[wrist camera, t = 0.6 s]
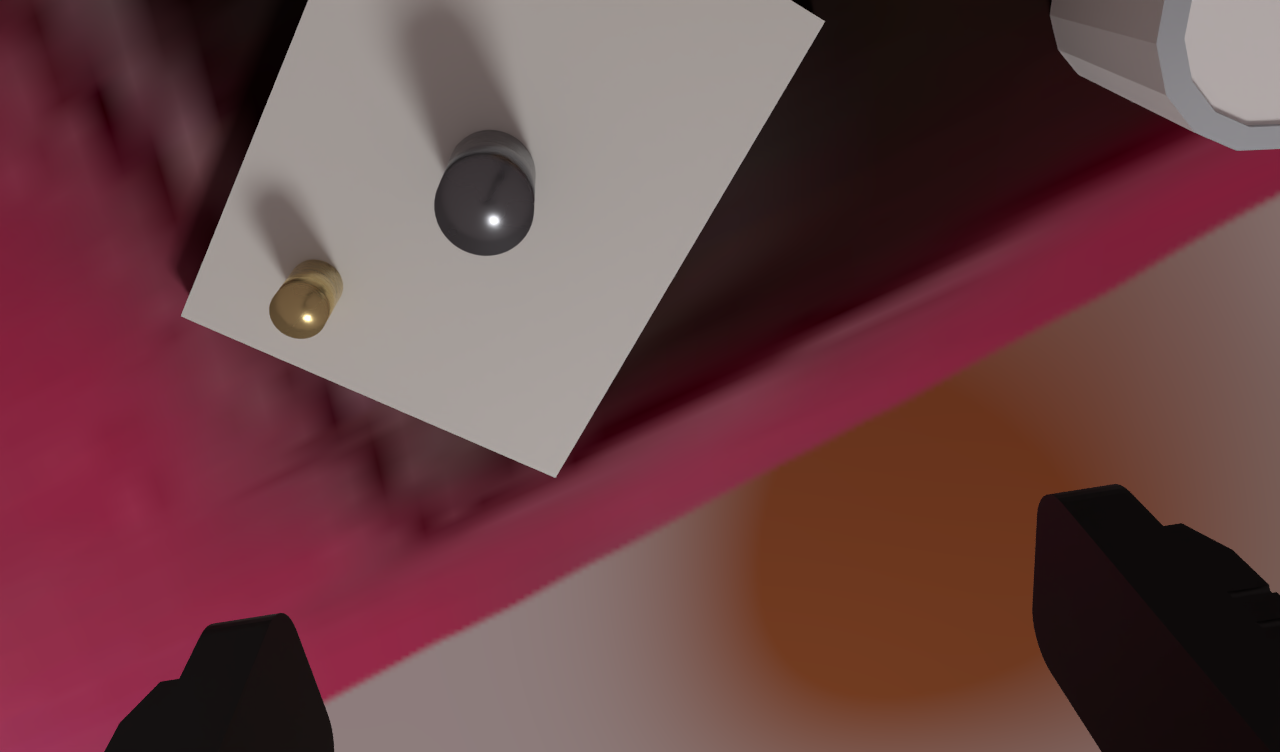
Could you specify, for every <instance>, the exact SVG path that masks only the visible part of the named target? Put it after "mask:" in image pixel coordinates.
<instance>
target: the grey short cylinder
mask: <svg viewBox="0 0 1280 752" xmlns="http://www.w3.org/2000/svg"><path fill="white" fill-rule="evenodd" d="M1050 18H1051V22H1052V27H1053V31H1054V35H1055V39H1056V43H1057V48H1058V50H1059V51H1060V53H1061V54H1062V55H1063V56H1064V58H1065V59H1066V60H1067V61H1068V63H1069V64H1070V65H1071V66H1072V68H1073V69H1074V70H1075V71H1076V73H1077V74H1078V75H1080V76H1082V77H1084V78H1086V79H1088V80H1090V81H1092V82H1094V83H1096V84H1098V85H1100V86H1102V87H1104V88H1106V89H1108V90H1110V91H1112V92H1114V93H1116V94H1118V95H1120V96H1122V97H1124V98H1126V99H1128V100H1130V101H1132V102H1134V103H1136V104H1138V105H1141V106H1143V107H1145V108H1147V109H1149V110H1151V111H1153V112H1155V113H1157V114H1159V115H1161V116H1163V117H1165V118H1167V119H1169V120H1171V121H1173V122H1175V123H1177V124H1179V125H1181V126H1183V127H1185V128H1187V129H1189V130H1191V131H1193V132H1195V133H1197V134H1199V135H1202V136H1204V137H1206V138H1209V139H1211V140H1213V141H1215V142H1218V143H1220V144H1222V145H1225V146H1227V147H1229V148H1232V149H1234V150H1236V151H1240V150H1262V149H1280V0H1052V3H1051V10H1050Z"/></svg>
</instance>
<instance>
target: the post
mask: <svg viewBox="0 0 1280 752" xmlns="http://www.w3.org/2000/svg"><path fill="white" fill-rule="evenodd" d="M535 179H536V172H535V165H534V161H533V159H532V156H531V154H530V153H529V151H528V150H527V148H526V147H525V146H524V145H523V144H522V143H521V142H520V141H519V140H518V139H517V138H515V137H513V136H512V135H510V134H508V133H505V132H502V131H497V130H482V131H478V132H475V133H472V134H470V135H469V136H467V137H465V138H464V139H463V140H462V141H461V142H460V143H459V144H458V145H457V146H456V147H455V149H454V151H453V152H452V155H451V157H450V159H449V162H448V164H447V166H446V169H445V171H444V174H443V176H442V178H441V181H440V183H439V186H438V188H437V191H436V194H435V200H434V211H435V217H436V220H437V223H438V225H439V227H440V229H441V231H442V232H443V234H444V235H445V237H446V238H447V239H448V240H449V241H450V242H451V243H452V244H454V245H455V246H456V247H458V248H459V249H461V250H463V251H465V252H468V253H471V254H474V255H480V256H493V255H498V254H502V253H504V252H507V251H509V250H511V249H513V248H514V247H515V246H517V245H518V244H519V243H520V242H521V241H522V240H523V239H524V238H525V236H526V235H527V233H528V232H529V230H530V227H531V225H532V221H533V217H534V202H535Z"/></svg>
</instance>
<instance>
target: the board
mask: <svg viewBox="0 0 1280 752" xmlns="http://www.w3.org/2000/svg"><path fill="white" fill-rule="evenodd" d="M824 22H825V21H823V20H822V19H820V18H819V17H817V16H815V15H814V14H812V13H811V12H809V11H807V10H806V9H804V8H803V7H801V6H799V5H798V4H796V3H795V2H793V1H791V0H308V2H307V5H306V7H305V9H304V12H303V14H302V17H301V19H300V22H299V24H298V27H297V29H296V32H295V34H294V37H293V39H292V42H291V44H290V47H289V49H288V52H287V54H286V57H285V59H284V62H283V64H282V67H281V69H280V71H279V74H278V76H277V79H276V81H275V84H274V86H273V89H272V91H271V94H270V96H269V99H268V101H267V104H266V106H265V109H264V111H263V114H262V116H261V119H260V121H259V124H258V126H257V128H256V131H255V133H254V136H253V138H252V141H251V143H250V146H249V148H248V151H247V153H246V156H245V158H244V161H243V163H242V166H241V168H240V171H239V173H238V176H237V178H236V181H235V183H234V186H233V188H232V190H231V193H230V195H229V198H228V200H227V203H226V205H225V208H224V210H223V213H222V215H221V218H220V220H219V223H218V225H217V228H216V230H215V233H214V235H213V238H212V240H211V243H210V245H209V247H208V250H207V252H206V255H205V257H204V260H203V262H202V265H201V267H200V270H199V272H198V275H197V277H196V280H195V282H194V285H193V287H192V290H191V292H190V295H189V297H188V300H187V302H186V305H185V307H184V309H183V312H182V314H181V317H184V318H186V319H188V320H191V321H193V322H195V323H198V324H200V325H202V326H205V327H207V328H209V329H212V330H214V331H216V332H219V333H221V334H223V335H226V336H228V337H230V338H232V339H235V340H237V341H239V342H242V343H244V344H246V345H249V346H251V347H253V348H256V349H258V350H260V351H263V352H265V353H267V354H270V355H272V356H274V357H277V358H279V359H281V360H283V361H286V362H288V363H290V364H293V365H295V366H297V367H300V368H302V369H304V370H307V371H309V372H311V373H314V374H316V375H318V376H321V377H323V378H325V379H328V380H330V381H332V382H335V383H337V384H339V385H341V386H344V387H346V388H348V389H351V390H353V391H355V392H358V393H360V394H362V395H365V396H367V397H369V398H372V399H374V400H376V401H379V402H381V403H383V404H386V405H388V406H390V407H392V408H395V409H397V410H399V411H402V412H404V413H406V414H409V415H411V416H413V417H416V418H418V419H420V420H423V421H425V422H427V423H430V424H432V425H434V426H437V427H439V428H441V429H444V430H446V431H448V432H450V433H453V434H455V435H457V436H460V437H462V438H464V439H467V440H469V441H471V442H474V443H476V444H478V445H481V446H483V447H485V448H488V449H490V450H492V451H495V452H497V453H499V454H501V455H504V456H506V457H508V458H511V459H513V460H515V461H518V462H520V463H522V464H525V465H527V466H529V467H532V468H534V469H536V470H539V471H541V472H543V473H546V474H548V475H550V476H553V477H555V478H556V476H557V474H558V473H559V471H560V469H561V467H562V466H563V464H564V462H565V461H566V459H567V457H568V456H569V454H570V452H571V450H572V449H573V447H574V445H575V444H576V442H577V440H578V439H579V437H580V435H581V434H582V432H583V430H584V428H585V427H586V425H587V423H588V422H589V420H590V418H591V417H592V415H593V413H594V412H595V410H596V408H597V406H598V405H599V403H600V401H601V400H602V398H603V396H604V395H605V393H606V391H607V390H608V388H609V386H610V384H611V383H612V381H613V379H614V378H615V376H616V374H617V373H618V371H619V369H620V368H621V366H622V364H623V362H624V361H625V359H626V357H627V356H628V354H629V352H630V351H631V349H632V347H633V346H634V344H635V342H636V340H637V339H638V337H639V335H640V334H641V332H642V330H643V329H644V327H645V325H646V324H647V322H648V320H649V318H650V317H651V315H652V313H653V312H654V310H655V308H656V307H657V305H658V303H659V302H660V300H661V298H662V296H663V295H664V293H665V291H666V290H667V288H668V286H669V285H670V283H671V281H672V280H673V278H674V276H675V274H676V273H677V271H678V269H679V268H680V266H681V264H682V263H683V261H684V259H685V257H686V256H687V254H688V252H689V251H690V249H691V247H692V246H693V244H694V242H695V241H696V239H697V237H698V235H699V234H700V232H701V230H702V229H703V227H704V225H705V224H706V222H707V220H708V219H709V217H710V215H711V213H712V212H713V210H714V208H715V207H716V205H717V203H718V202H719V200H720V198H721V197H722V195H723V193H724V191H725V190H726V188H727V186H728V185H729V183H730V181H731V180H732V178H733V176H734V175H735V173H736V171H737V169H738V168H739V166H740V164H741V163H742V161H743V159H744V158H745V156H746V154H747V153H748V151H749V149H750V147H751V146H752V144H753V142H754V141H755V139H756V137H757V136H758V134H759V132H760V131H761V129H762V127H763V125H764V124H765V122H766V120H767V119H768V117H769V115H770V114H771V112H772V110H773V109H774V107H775V105H776V103H777V102H778V100H779V98H780V97H781V95H782V93H783V92H784V90H785V88H786V87H787V85H788V83H789V81H790V80H791V78H792V76H793V75H794V73H795V71H796V70H797V68H798V66H799V64H800V63H801V61H802V59H803V58H804V56H805V54H806V53H807V51H808V49H809V48H810V46H811V44H812V42H813V41H814V39H815V37H816V36H817V34H818V32H819V31H820V29H821V27H822V26H823V24H824ZM482 130H497V131H502V132H505V133H508V134H510V135H512V136H513V137H515V138H517V139H518V140H519V141H520V142H521V143H522V144H523V145H524V146H525V147H526V148H527V150H528V151H529V153H530V154H531V156H532V159H533V161H534V165H535V172H536V179H535V202H534V217H533V221H532V225H531V227H530V230H529V232H528V233H527V235H526V236H525V238H524V239H523V240H522V241H521V242H520V243H519V244H518V245H517V246H515V247H514V248H513V249H511V250H509V251H507V252H504V253H502V254H498V255H493V256H480V255H474V254H471V253H468V252H465V251H463V250H461V249H459V248H458V247H456V246H455V245H454V244H452V243H451V242H450V241H449V240H448V239H447V238H446V237H445V235H444V234H443V232H442V231H441V229H440V227H439V225H438V223H437V220H436V217H435V211H434V200H435V194H436V191H437V188H438V186H439V183H440V181H441V178H442V176H443V174H444V171H445V169H446V166H447V164H448V162H449V159H450V157H451V155H452V152H453V151H454V149H455V147H456V146H457V145H458V144H459V143H460V142H461V141H462V140H463V139H464V138H465V137H467V136H469V135H470V134H472V133H475V132H478V131H482ZM306 260H321V261H324V262H327V263H329V264H330V265H332V266H333V267H334V268H335V269H336V270H337V271H338V272H339V274H340V276H341V278H342V281H343V292H342V295H341V297H340V299H339V300H338V302H337V304H336V306H335V308H334V309H333V311H332V313H331V315H330V317H329V318H328V320H327V322H326V324H325V326H324V327H323V329H322V330H321V331H320V332H319V333H318V334H317V335H315V336H313V337H310V338H306V339H296V338H291V337H289V336H286V335H285V334H283V333H281V332H280V331H279V330H278V329H277V328H276V327H275V326H274V324H273V323H272V321H271V318H270V315H269V306H270V302H271V300H272V298H273V297H274V295H275V294H276V293H277V291H278V290H279V288H280V287H281V286H282V284H283V283H284V282H285V280H286V279H287V278H288V276H289V275H290V274H291V272H292V271H293V270H294V268H295V267H296V266H297V265H298V264H300V263H301V262H304V261H306Z"/></svg>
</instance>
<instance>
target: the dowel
mask: <svg viewBox="0 0 1280 752" xmlns="http://www.w3.org/2000/svg"><path fill="white" fill-rule="evenodd" d="M342 292H343V281H342V278H341V276H340V274H339V272H338V271H337V270H336V269H335V268H334V267H333V266H332V265H330V264H329V263H327V262H324V261H321V260H306V261H304V262H301V263H300V264H298V265H297V266H296V267H295V268H294V270H293V271H292V272H291V274H290V275H289V276H288V278H287V279H286V280H285V282H284V283H283V284H282V286H281V287H280V288H279V290H278V291H277V293H276V294H275V295H274V297H273V298H272V300H271V302H270V306H269V315H270V318H271V321H272V323H273V324H274V326H275V327H276V328H277V329H278V330H279V331H280V332H281V333H283V334H285V335H286V336H289V337H291V338H296V339H306V338H310V337H313V336H315V335H317V334H318V333H319V332H320V331H321V330H322V329H323V327H324V326H325V324H326V322H327V320H328V318H329V317H330V315H331V313H332V311H333V309H334V308H335V306H336V304H337V302H338V300H339V299H340V297H341V295H342Z"/></svg>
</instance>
